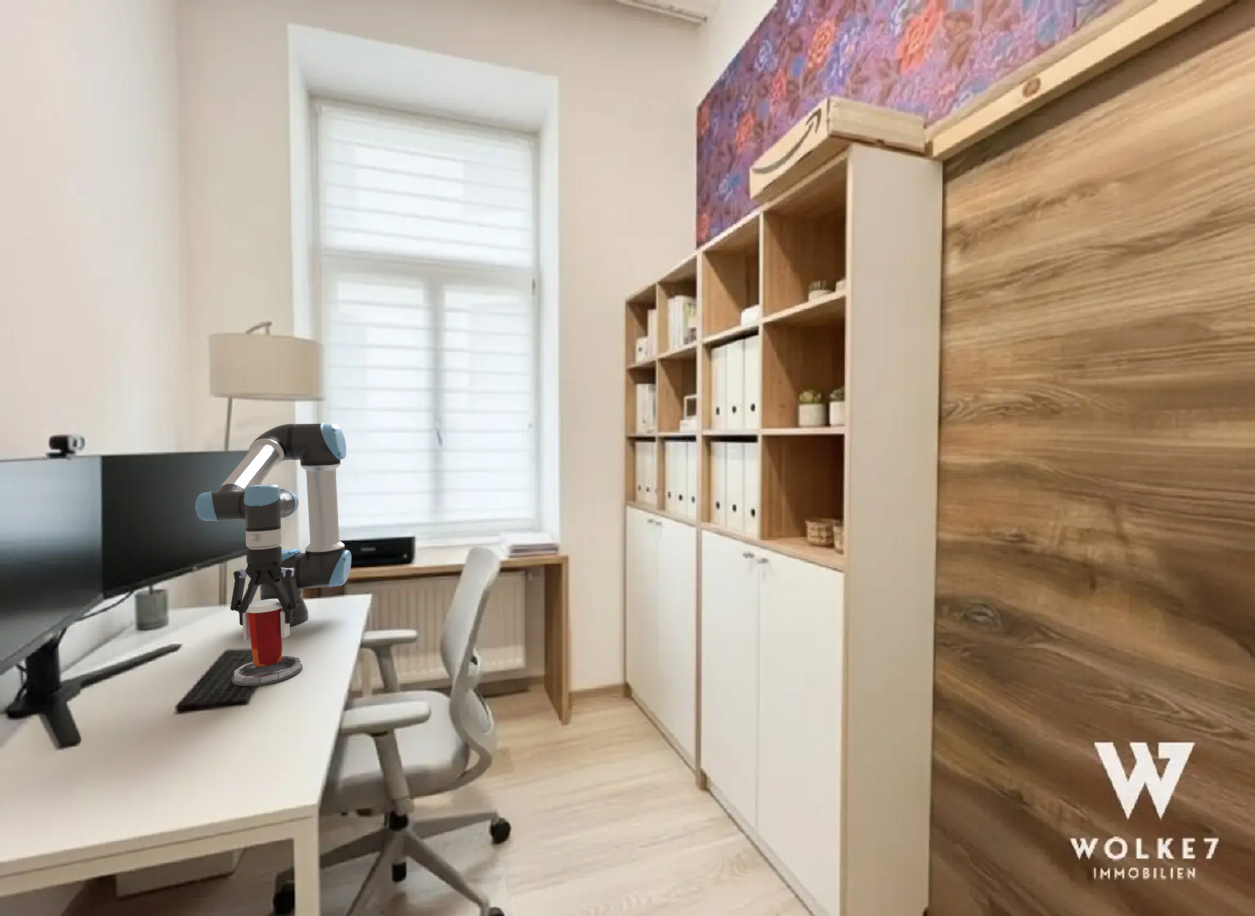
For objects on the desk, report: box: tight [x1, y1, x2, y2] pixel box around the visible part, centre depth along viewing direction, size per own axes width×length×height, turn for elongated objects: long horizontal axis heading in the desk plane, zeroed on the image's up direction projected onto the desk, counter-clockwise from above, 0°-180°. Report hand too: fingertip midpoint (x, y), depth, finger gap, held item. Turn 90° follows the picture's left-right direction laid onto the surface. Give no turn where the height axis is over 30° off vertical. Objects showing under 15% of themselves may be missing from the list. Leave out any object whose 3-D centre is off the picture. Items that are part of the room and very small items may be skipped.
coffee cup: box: [246, 599, 284, 666], centre depth 144 cm, size 8×8×15 cm
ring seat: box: [231, 655, 303, 688], centre depth 145 cm, size 15×15×2 cm
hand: (266, 636), depth 144 cm, fingers closed on coffee cup, 8 cm apart
